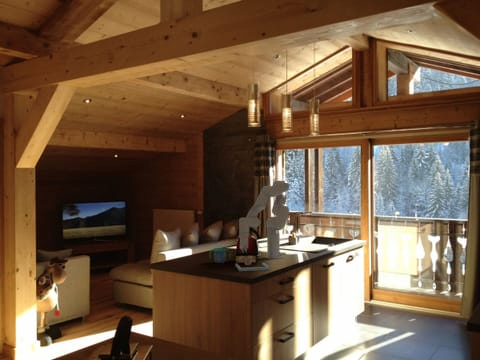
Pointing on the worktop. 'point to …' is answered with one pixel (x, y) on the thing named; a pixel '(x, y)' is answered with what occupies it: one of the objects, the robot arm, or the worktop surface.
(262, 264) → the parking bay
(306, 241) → the worktop surface
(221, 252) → the snack cup
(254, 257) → the T block
